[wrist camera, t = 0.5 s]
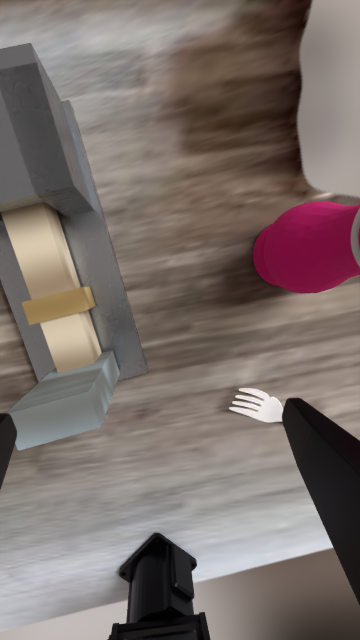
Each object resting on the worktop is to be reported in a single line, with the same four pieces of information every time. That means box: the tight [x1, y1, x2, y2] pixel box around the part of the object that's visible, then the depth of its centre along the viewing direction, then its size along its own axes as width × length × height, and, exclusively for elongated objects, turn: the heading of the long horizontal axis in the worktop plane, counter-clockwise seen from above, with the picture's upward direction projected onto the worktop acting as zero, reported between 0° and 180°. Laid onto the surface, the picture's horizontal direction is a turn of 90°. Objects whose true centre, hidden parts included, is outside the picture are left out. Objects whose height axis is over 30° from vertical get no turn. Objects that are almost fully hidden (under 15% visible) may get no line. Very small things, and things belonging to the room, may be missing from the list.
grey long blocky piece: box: [0, 43, 148, 382], centre depth 21 cm, size 24×10×7 cm, turn 14°
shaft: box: [1, 202, 120, 451], centre depth 19 cm, size 15×5×9 cm, turn 14°
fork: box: [229, 388, 283, 423], centre depth 29 cm, size 3×20×2 cm, turn 64°
